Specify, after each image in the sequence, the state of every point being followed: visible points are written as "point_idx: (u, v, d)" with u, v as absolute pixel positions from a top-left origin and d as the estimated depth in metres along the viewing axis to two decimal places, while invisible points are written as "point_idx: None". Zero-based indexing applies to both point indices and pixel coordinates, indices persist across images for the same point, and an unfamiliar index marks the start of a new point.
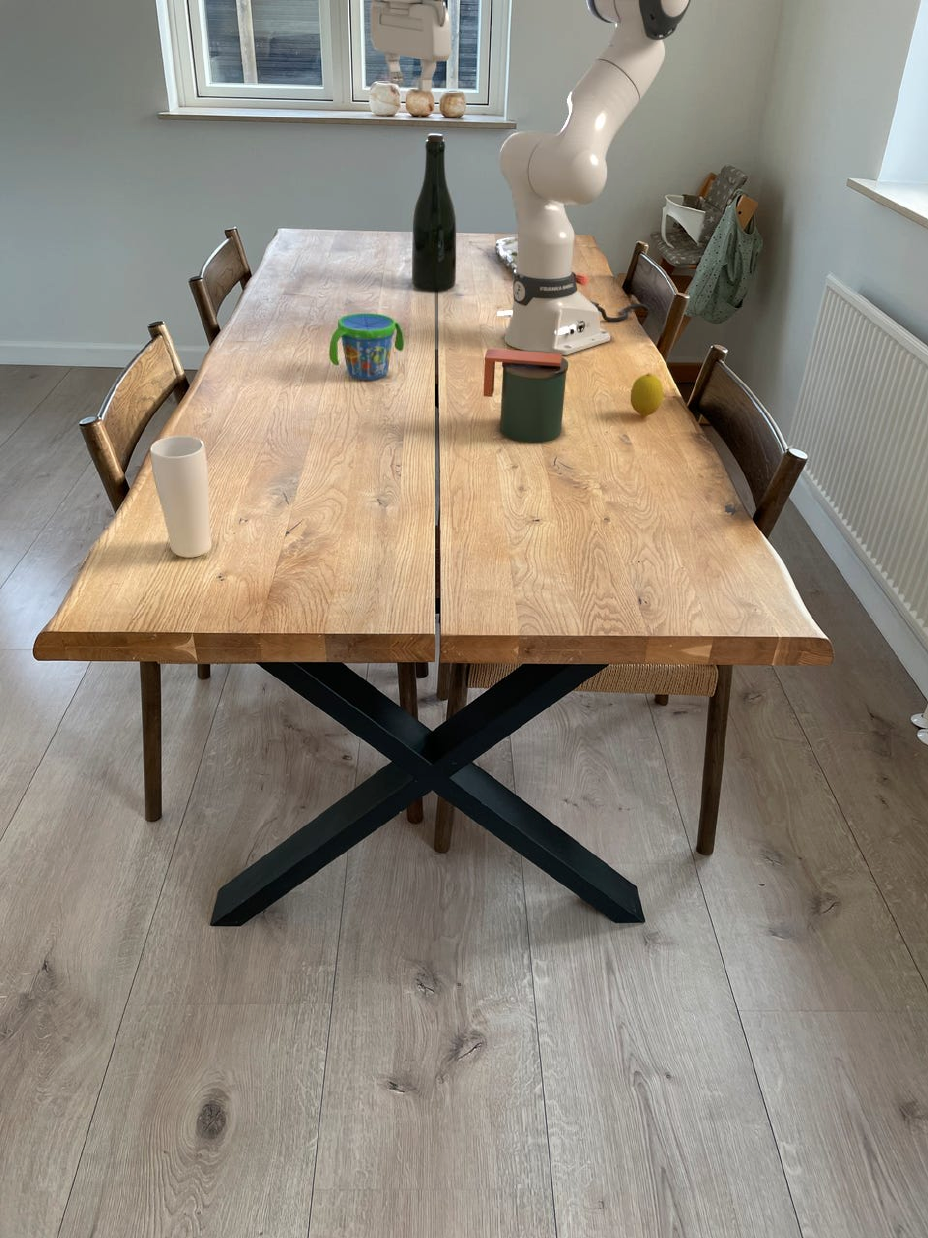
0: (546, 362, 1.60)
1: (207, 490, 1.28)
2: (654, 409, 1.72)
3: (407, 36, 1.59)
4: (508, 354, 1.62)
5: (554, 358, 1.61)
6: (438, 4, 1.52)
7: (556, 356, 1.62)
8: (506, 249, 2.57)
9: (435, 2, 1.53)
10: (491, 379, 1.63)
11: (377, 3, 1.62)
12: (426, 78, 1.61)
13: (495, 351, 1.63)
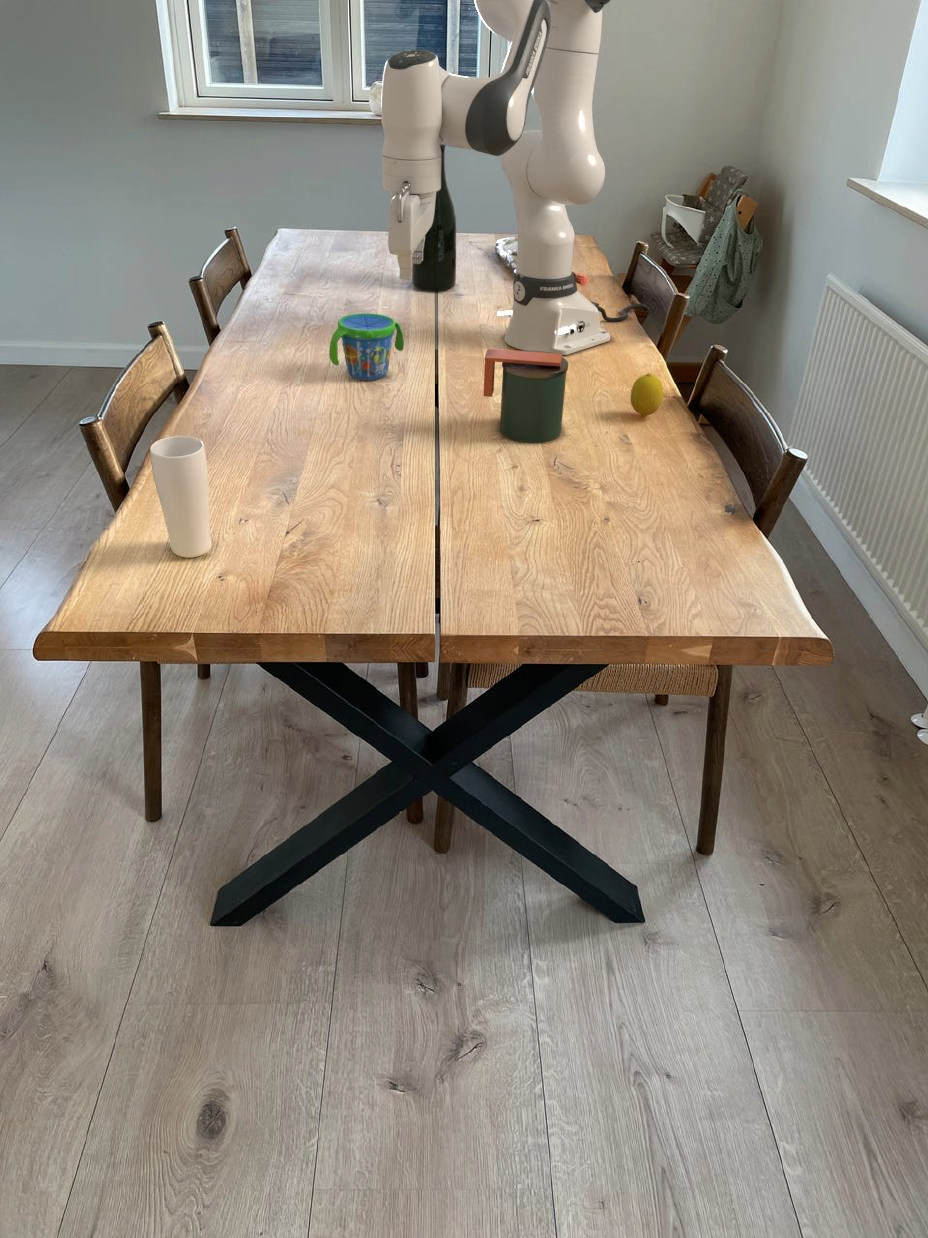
0: (546, 362, 1.60)
1: (207, 490, 1.28)
2: (654, 409, 1.72)
3: None
4: (508, 354, 1.62)
5: (554, 358, 1.61)
6: None
7: (556, 356, 1.62)
8: (506, 249, 2.57)
9: None
10: (491, 379, 1.63)
11: None
12: (403, 267, 1.51)
13: (495, 351, 1.63)
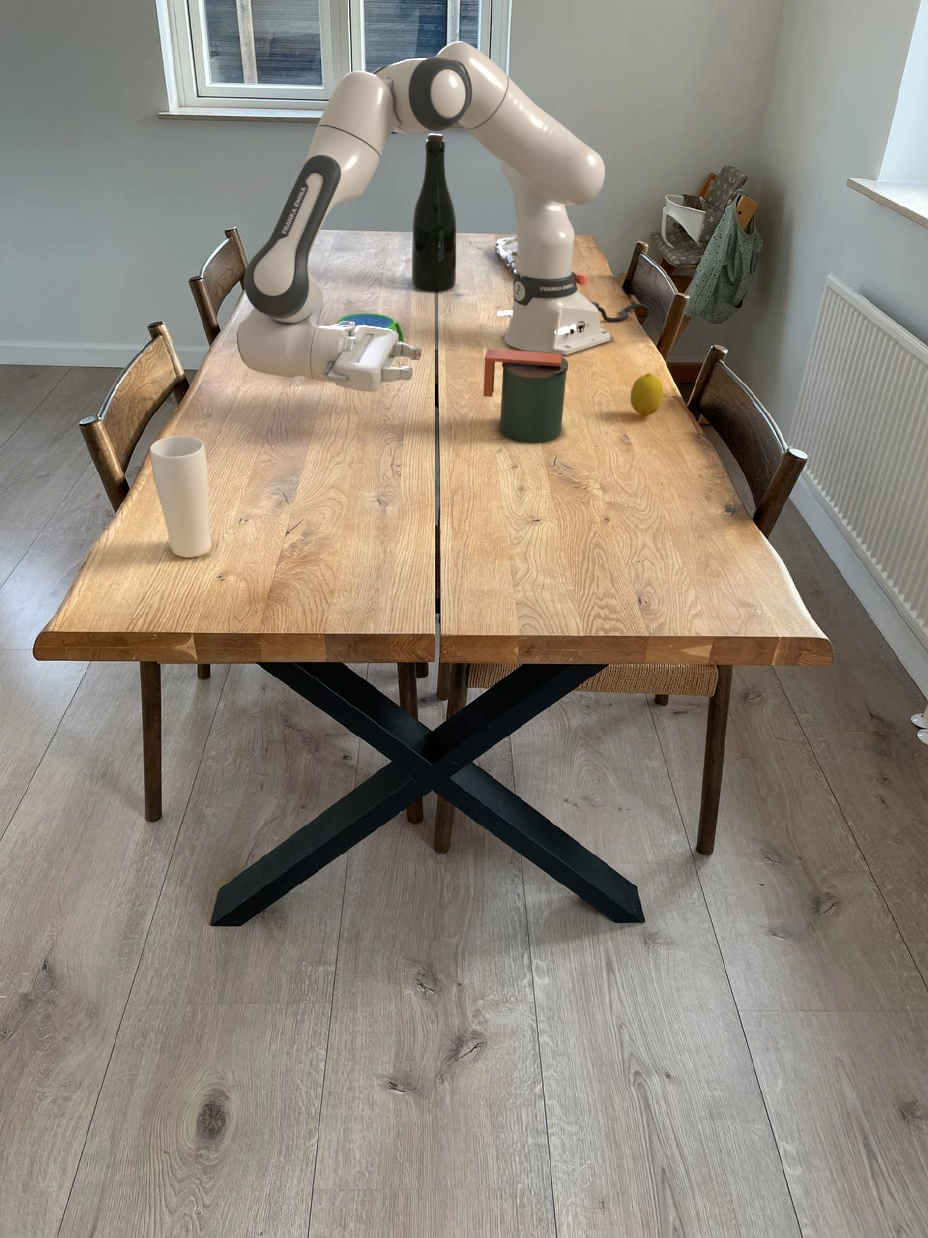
0: (546, 362, 1.60)
1: (207, 490, 1.28)
2: (654, 409, 1.72)
3: None
4: (508, 354, 1.62)
5: (554, 358, 1.61)
6: None
7: (556, 356, 1.62)
8: (506, 249, 2.57)
9: None
10: (491, 379, 1.63)
11: None
12: (399, 375, 1.61)
13: (495, 351, 1.63)
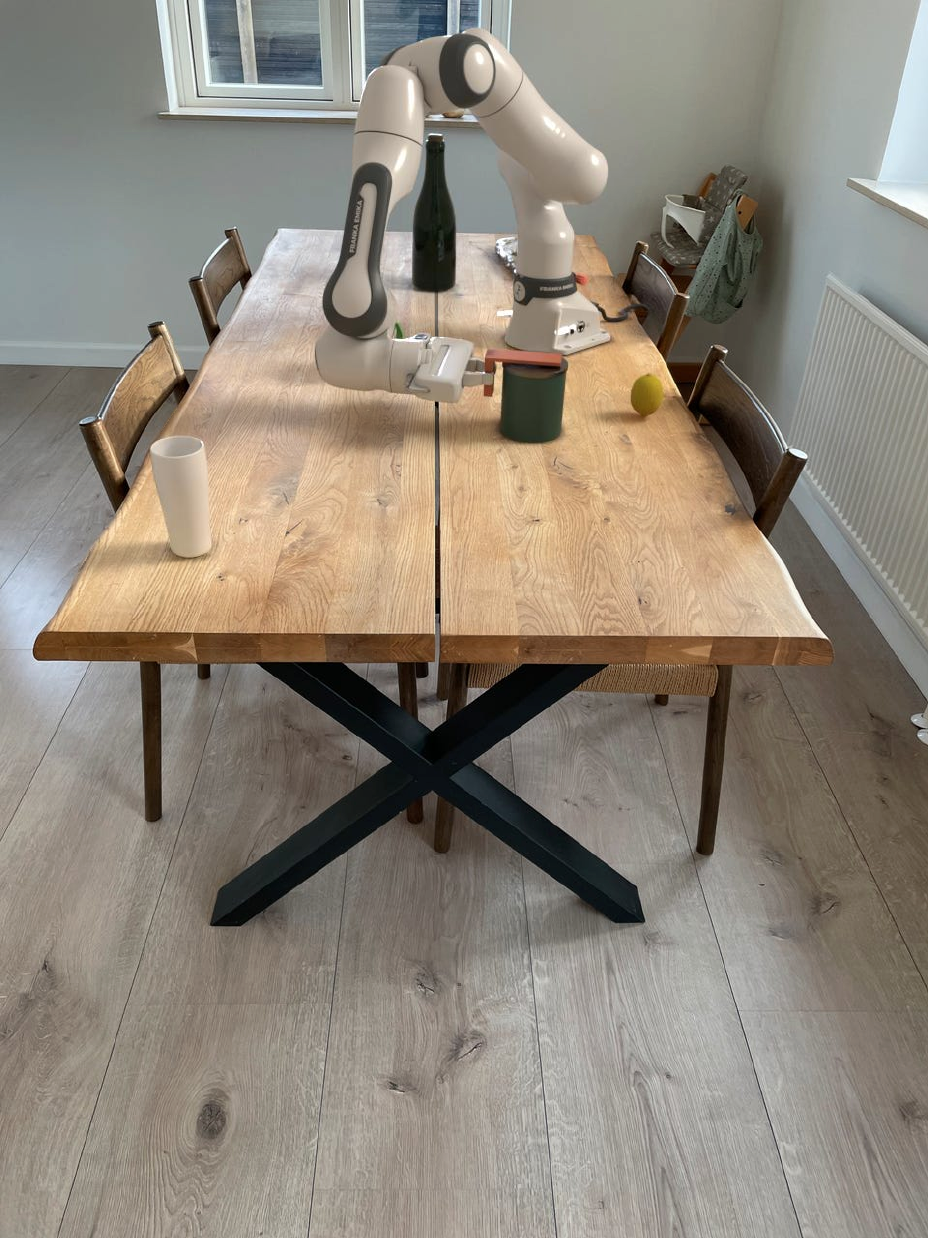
0: (546, 362, 1.60)
1: (207, 490, 1.28)
2: (654, 409, 1.72)
3: None
4: (508, 354, 1.62)
5: (554, 358, 1.61)
6: None
7: (556, 356, 1.62)
8: (506, 249, 2.57)
9: None
10: None
11: None
12: (481, 380, 1.62)
13: (495, 351, 1.63)
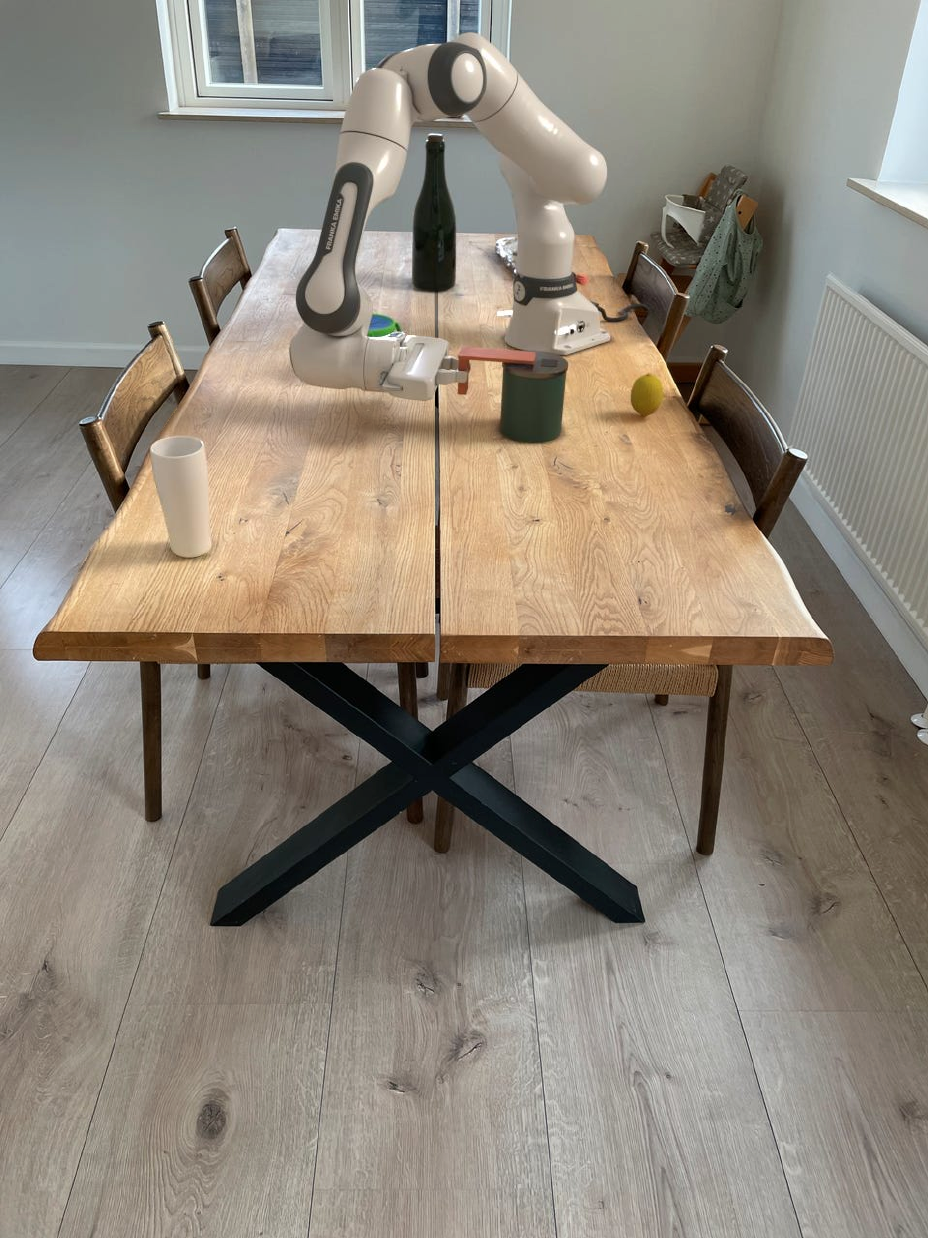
0: (519, 360, 1.60)
1: (207, 490, 1.28)
2: (654, 409, 1.72)
3: None
4: (482, 352, 1.63)
5: (527, 356, 1.62)
6: None
7: (530, 354, 1.62)
8: (506, 249, 2.57)
9: None
10: None
11: None
12: (455, 378, 1.62)
13: (469, 349, 1.64)
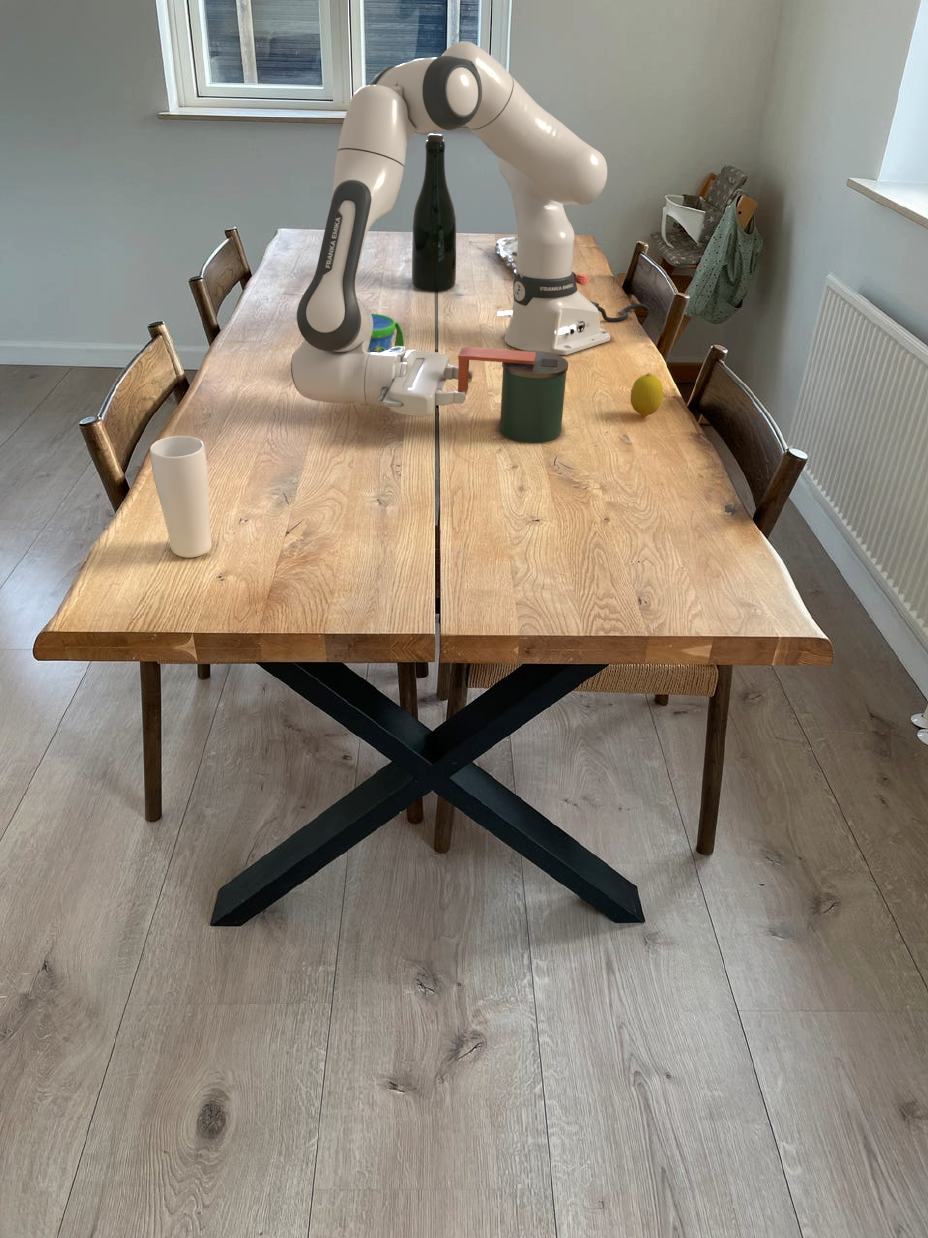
0: (519, 360, 1.60)
1: (207, 490, 1.28)
2: (654, 409, 1.72)
3: None
4: (482, 352, 1.63)
5: (527, 356, 1.62)
6: None
7: (530, 354, 1.62)
8: (506, 249, 2.57)
9: None
10: (465, 377, 1.64)
11: None
12: (453, 399, 1.62)
13: (469, 349, 1.64)
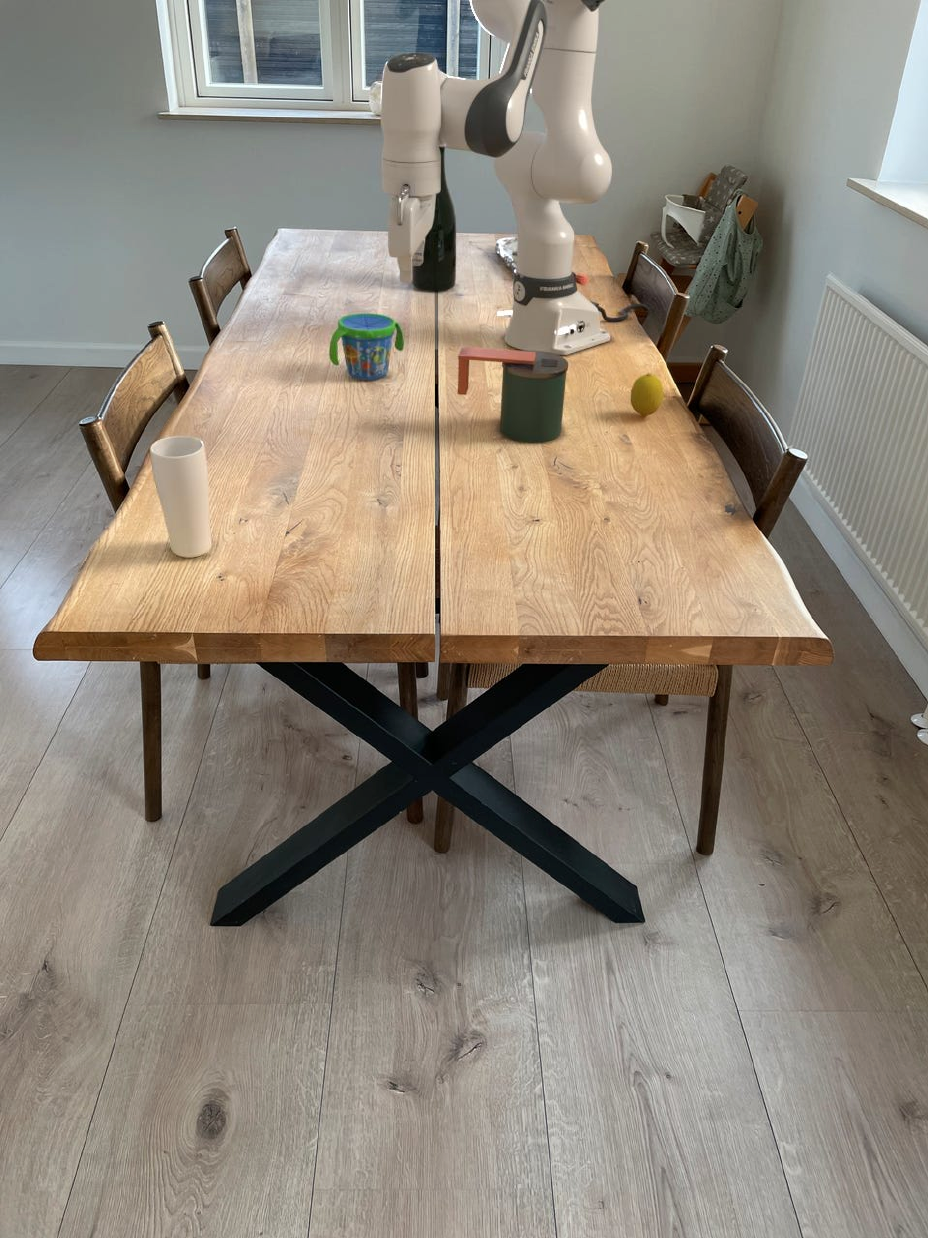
0: (519, 360, 1.60)
1: (207, 490, 1.28)
2: (654, 409, 1.72)
3: None
4: (482, 352, 1.63)
5: (527, 356, 1.62)
6: None
7: (530, 354, 1.62)
8: (506, 249, 2.57)
9: None
10: (465, 377, 1.64)
11: None
12: (404, 270, 1.51)
13: (469, 349, 1.64)
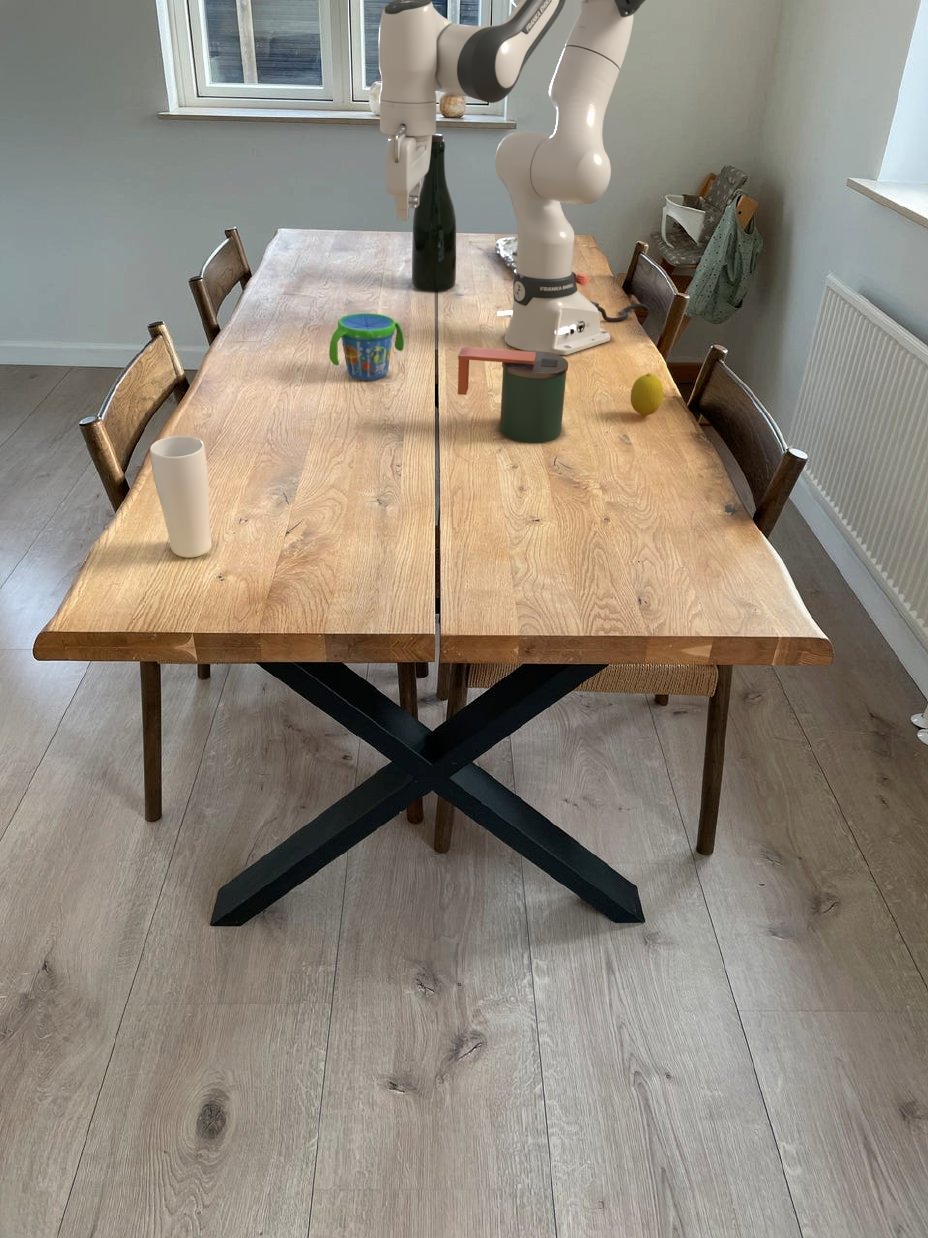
0: (519, 360, 1.60)
1: (207, 490, 1.28)
2: (654, 409, 1.72)
3: None
4: (482, 352, 1.63)
5: (527, 356, 1.62)
6: None
7: (530, 354, 1.62)
8: (506, 249, 2.57)
9: None
10: (465, 377, 1.64)
11: None
12: (400, 208, 1.58)
13: (469, 349, 1.64)
